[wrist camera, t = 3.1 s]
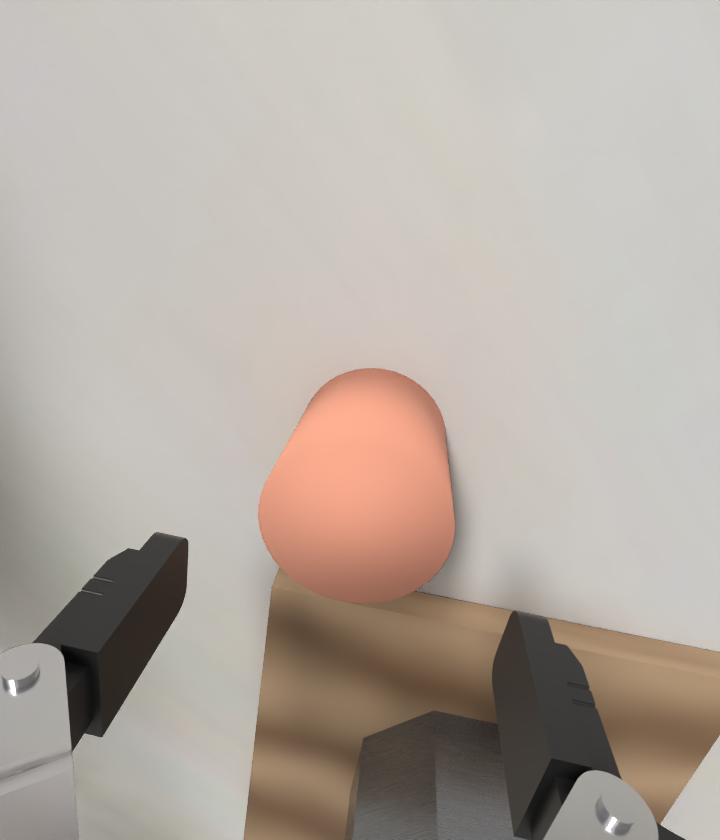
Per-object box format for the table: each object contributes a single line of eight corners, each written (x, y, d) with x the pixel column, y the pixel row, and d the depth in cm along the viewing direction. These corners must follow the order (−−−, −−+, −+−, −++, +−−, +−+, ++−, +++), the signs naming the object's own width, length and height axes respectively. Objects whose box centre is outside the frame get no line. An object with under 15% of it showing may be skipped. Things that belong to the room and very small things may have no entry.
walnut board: (280, 564, 23) (271, 587, 22) (732, 655, 22) (752, 685, 21) (249, 825, 31) (241, 854, 30) (580, 898, 30) (587, 931, 29)
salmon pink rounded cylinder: (311, 355, 19) (266, 418, 13) (460, 383, 19) (477, 458, 13) (295, 484, 21) (251, 582, 16) (428, 510, 21) (431, 619, 16)
